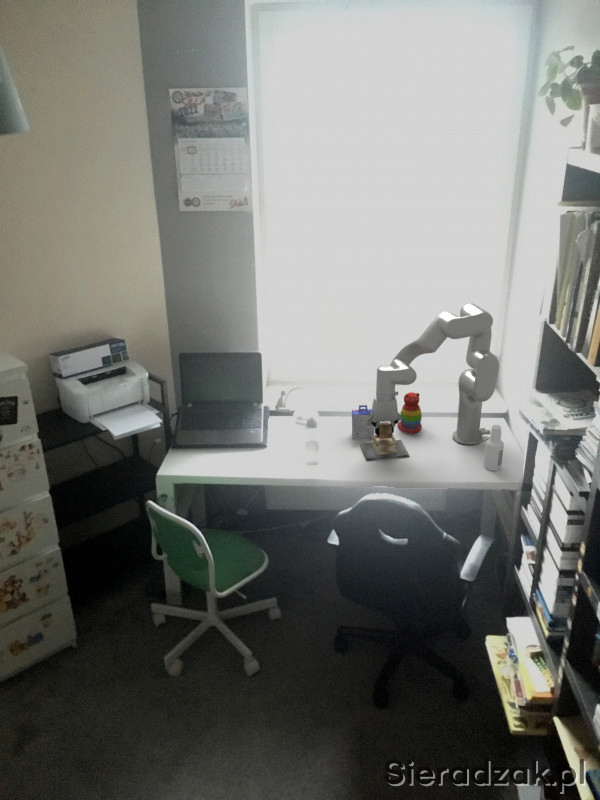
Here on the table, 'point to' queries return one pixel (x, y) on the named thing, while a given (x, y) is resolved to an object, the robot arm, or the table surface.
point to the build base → (387, 456)
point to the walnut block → (385, 430)
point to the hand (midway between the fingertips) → (384, 434)
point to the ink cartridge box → (362, 423)
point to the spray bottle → (494, 450)
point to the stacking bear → (410, 414)
